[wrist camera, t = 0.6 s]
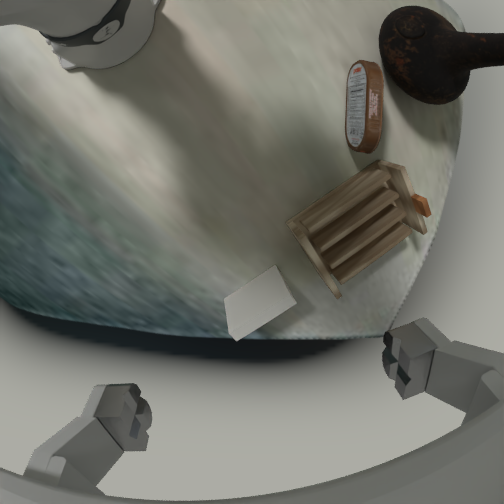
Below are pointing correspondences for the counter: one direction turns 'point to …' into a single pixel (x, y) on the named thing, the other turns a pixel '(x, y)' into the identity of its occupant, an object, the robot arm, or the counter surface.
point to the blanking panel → (257, 303)
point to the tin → (364, 106)
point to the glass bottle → (434, 54)
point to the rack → (359, 221)
